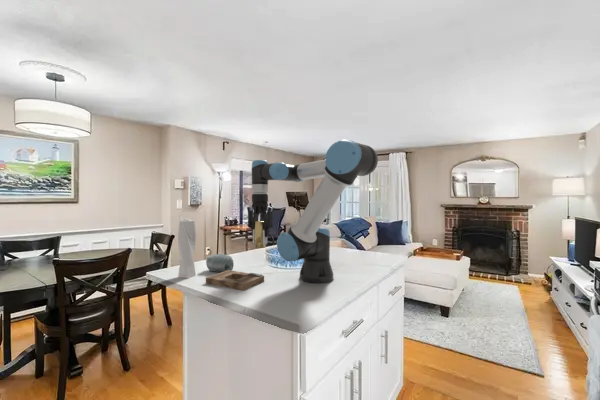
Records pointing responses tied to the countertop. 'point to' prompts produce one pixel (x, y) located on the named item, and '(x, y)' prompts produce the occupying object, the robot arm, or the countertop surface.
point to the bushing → (259, 234)
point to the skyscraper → (186, 247)
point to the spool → (219, 263)
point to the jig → (235, 279)
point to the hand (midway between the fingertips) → (260, 243)
